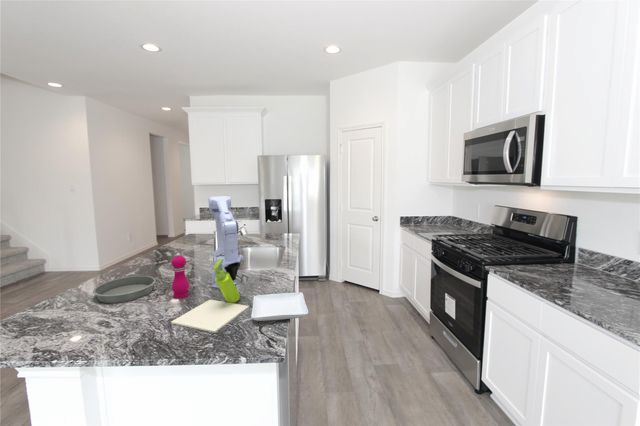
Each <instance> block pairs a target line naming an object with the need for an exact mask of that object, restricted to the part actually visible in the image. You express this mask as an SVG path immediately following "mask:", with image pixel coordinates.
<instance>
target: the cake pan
mask: <svg viewBox="0 0 640 426" xmlns="http://www.w3.org/2000/svg"><path fill="white" fill-rule="evenodd" d="M156 282H157V281H156V278H155V277H153V276H150V275H131V276H125V277H120V278H114V279H111V280H108V281H106V282H105V281H104V282H103V283H101V284H99V285H97V286H95V287H94V288H93V289H92V293H93V294H94V295H95V296H97V298H98V300H99V302H102V303H105V304H106V303H107V304H116V303H123V302H129V301H134V300H136V299H139V298H142V297H144V296H146V295H148V294H150V293H151V292H152V291H153V289H154V284H155V283H156Z"/></svg>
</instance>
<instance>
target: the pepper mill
mask: <svg viewBox="0 0 640 426" xmlns="http://www.w3.org/2000/svg"><path fill="white" fill-rule="evenodd" d="M170 263H171V266H172V267H173V268H172V270H173V272H174V278H173V281H172V284H171V290H172V291H173V298H174V299H184V298H187V297H188V296H189V295H190V293H189V291H190V290H189V288H190V283H189V281H188V279H187V277H186V273H185V271H186V265H187V259H186V258H185V256H182V255H181V253H180V252H177V253H176V254H175V256H174V257H173V258H172V259H171V262H170Z"/></svg>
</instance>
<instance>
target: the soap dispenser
mask: <svg viewBox="0 0 640 426" xmlns="http://www.w3.org/2000/svg"><path fill="white" fill-rule="evenodd" d="M223 260H224V259H219V260H218V261H217V262H216V263H215V265H214V266H213V267H212V270H213V269H216V272H215V274H216V276H217V277H216V279H215V281H216V283H217V285H218V286H219V288H218V289H219V290H220V291H221V294H222V296H223V297H224V299H225V300H226V301H225V302H228V303H234V304H236V303H237V302H238V301H239V300H240V298H241V294H240V292H239V290H238V287H236V284H234V281H233V280H232V278H231V276H230V275H229V273H228V272H224V270H223V269H220V267H219V265H220V264H221V263H222V262H223Z"/></svg>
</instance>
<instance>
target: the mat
mask: <svg viewBox="0 0 640 426" xmlns="http://www.w3.org/2000/svg"><path fill="white" fill-rule="evenodd" d="M249 308H250V305H245V304H240V303H239V304H238V303H228V302H227V301H220V300H215V299H208V300H206V301H204V302H203V303H201V304H199V305H197V306H196V307H194V308H192V309H191V310H189V311H187V312H186V313H184V314H182V315H180V316H179V317H176V318H175V319H173V320H171V321H170V324H172V325H177V326H181V327H186V328H191V329H195V330H199V331H205V332H209V333H214V334H215V333H217V332H218V331H219V330H221V329H222V328H223V327H225V326H227V325H228V324H229V323H230V322H232V321H233V320H235V319H236V318H237V317H239V316H240V315H241V314H243V313H244V312H246V310H248V309H249Z"/></svg>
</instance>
